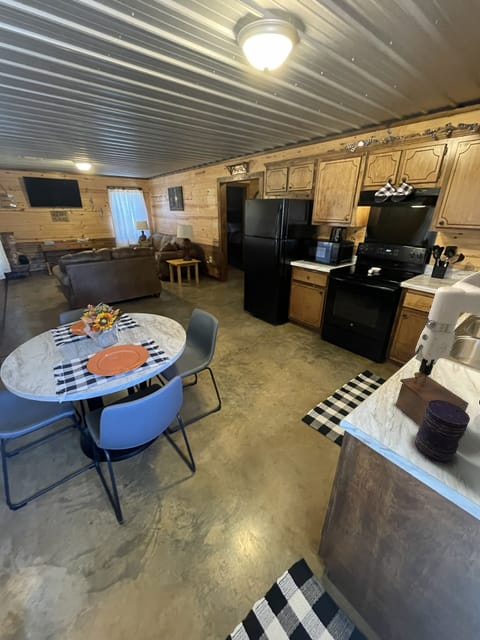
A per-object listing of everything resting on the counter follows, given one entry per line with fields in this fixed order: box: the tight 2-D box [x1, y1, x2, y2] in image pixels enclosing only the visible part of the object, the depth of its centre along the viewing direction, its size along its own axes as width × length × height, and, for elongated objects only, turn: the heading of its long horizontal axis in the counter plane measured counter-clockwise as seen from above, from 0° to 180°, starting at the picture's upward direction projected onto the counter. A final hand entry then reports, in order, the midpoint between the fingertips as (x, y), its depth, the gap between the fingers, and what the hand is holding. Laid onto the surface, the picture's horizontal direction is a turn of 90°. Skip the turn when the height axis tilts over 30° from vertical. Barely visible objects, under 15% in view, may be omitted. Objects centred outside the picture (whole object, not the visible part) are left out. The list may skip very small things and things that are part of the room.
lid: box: [399, 371, 470, 407], centre depth 88 cm, size 16×12×5 cm
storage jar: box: [413, 400, 471, 465], centre depth 77 cm, size 10×10×15 cm
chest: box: [395, 383, 469, 427], centre depth 91 cm, size 15×12×10 cm
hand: (424, 373), depth 91 cm, fingers closed
